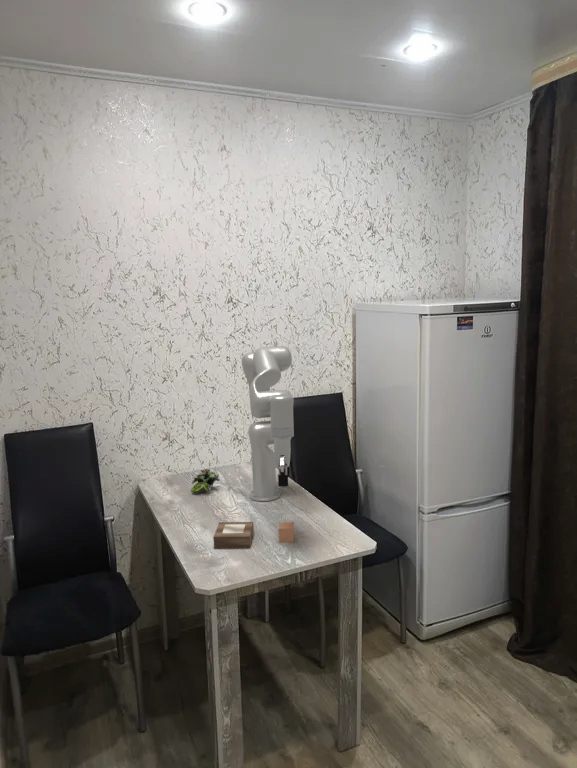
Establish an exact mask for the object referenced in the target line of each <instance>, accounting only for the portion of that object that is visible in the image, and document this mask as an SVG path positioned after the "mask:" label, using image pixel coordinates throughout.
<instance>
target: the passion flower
mask: <svg viewBox="0 0 577 768" xmlns="http://www.w3.org/2000/svg"><path fill="white" fill-rule="evenodd" d="M200 471H201V472H199V473H197V474H196V477H193V479H192V482H191V485H193V487H192V488H191V491H190V492H191V493H192V494H193V493H194V492H196V493H197V492H198V491H200V490H201V489H202V488H204V490H205V491H206V492H208V494H210V492H211V489H212V487H213V486H214V483H215V482H216V481H217V482H218V481H220V476H219V474H217V473H216V472H214V471H211V469H209V468H204V469H201V470H200Z"/></svg>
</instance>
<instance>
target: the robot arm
mask: <svg viewBox="0 0 577 768" xmlns="http://www.w3.org/2000/svg"><path fill="white" fill-rule="evenodd" d="M292 361H293V357H292V352H291V350H290V349H289V348H288V347H287V346H284V345H280V346H279V345H277V346H264V347H263V346H262V347H259V348H257V349H256V350H255V351H254V352H253V351H252V352H248V353H245V354H244V355H243V356H242V358H241V366H242V371H243V374H244V376H245V379H246V380H247V384H248V390H249V391H248V392H249V406H250V412H251V416H252V417H253V418H257V419H266V418H267V419H268V418H270V420H262V421H261V420H260V421H256V422H253V423H251V424H250V425H249V427H248V438H249V444H250V450H251V466H252V469H251V470H252V471H251V472H252V487H253V488H252V491H250V493H249V498H250V499H251V500H252V501H255V502H272V501H275V500H277V499H279V498H280V497H281V492H280V490H281V489H284V488H286V487H289V477H290V462H291V450H292V448H291V440H292V438H293V437H294V436H295V433H294V432H295V431H294V430H295V429H294V428H295V426H294V401H295V400H294V395H293V394H292V393H291V392H290V390H286V389H283V390H282V389H279V390H271V387H273V386H275V385H277V384H279V382H280V381H281V378H282V372H285V371H287V370H288V369H289V368H291V366H292V363H293V362H292ZM269 445H273V449H271V448H272V447H270V446H269ZM277 468H278V474H277V475H276V471H277V470H276V469H277ZM277 480H278V481H277Z"/></svg>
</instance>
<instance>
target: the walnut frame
mask: <svg viewBox="0 0 577 768" xmlns="http://www.w3.org/2000/svg"><path fill="white" fill-rule="evenodd" d="M253 533H255V531H254V522H253V521H226V522H225V521H221V522H219V523H218V525H217V528H216V530H215V532H214V534H213V537H212V538H213V549H250V548H251V547H252V546H251V545H252V541H253V538H254V534H253Z"/></svg>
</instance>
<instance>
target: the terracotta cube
mask: <svg viewBox="0 0 577 768" xmlns="http://www.w3.org/2000/svg"><path fill="white" fill-rule="evenodd" d="M277 531H278V543H294V542H295V522H293V521H292V522H290V521H289V522H279V523H278V529H277Z"/></svg>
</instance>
